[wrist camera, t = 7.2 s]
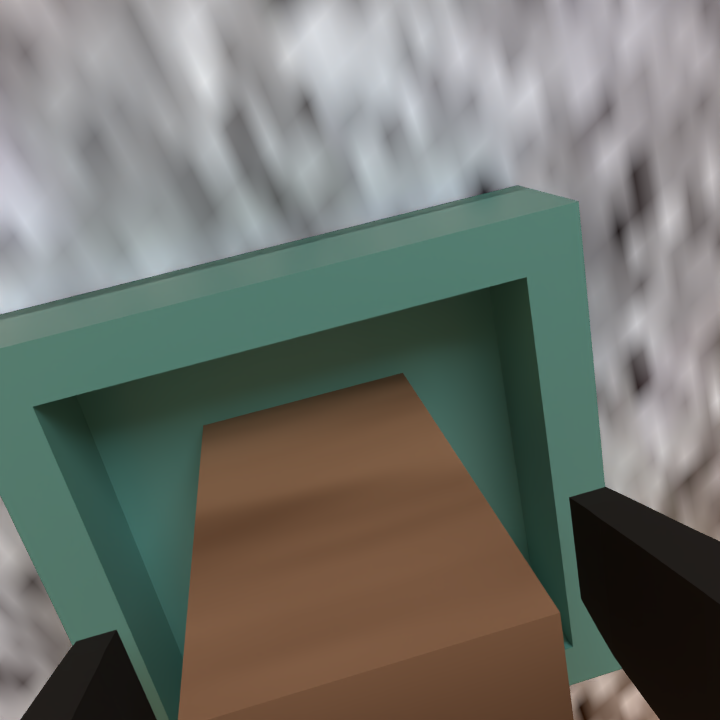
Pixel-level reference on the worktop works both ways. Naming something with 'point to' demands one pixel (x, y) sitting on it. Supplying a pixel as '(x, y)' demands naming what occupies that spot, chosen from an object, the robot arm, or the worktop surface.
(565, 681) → the walnut post
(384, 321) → the teal well
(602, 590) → the robot arm
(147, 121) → the worktop surface
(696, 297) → the worktop surface
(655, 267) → the worktop surface
